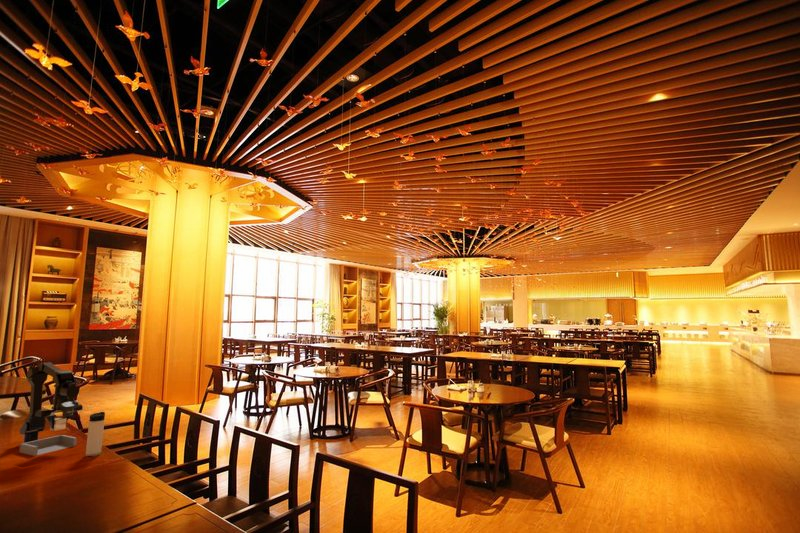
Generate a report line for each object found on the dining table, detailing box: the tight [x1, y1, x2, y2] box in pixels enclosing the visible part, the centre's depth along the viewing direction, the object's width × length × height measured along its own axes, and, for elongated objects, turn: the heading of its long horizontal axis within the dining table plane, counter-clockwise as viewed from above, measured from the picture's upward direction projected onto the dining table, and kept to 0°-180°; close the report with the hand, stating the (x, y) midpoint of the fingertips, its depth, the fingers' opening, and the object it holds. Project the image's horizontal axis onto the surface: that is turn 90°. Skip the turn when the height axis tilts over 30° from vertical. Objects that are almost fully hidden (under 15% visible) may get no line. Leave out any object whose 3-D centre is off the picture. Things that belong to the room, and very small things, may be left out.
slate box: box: [19, 434, 77, 457], centre depth 212 cm, size 13×18×4 cm
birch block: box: [49, 417, 67, 431], centre depth 211 cm, size 4×4×5 cm
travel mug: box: [85, 411, 106, 457], centre depth 207 cm, size 6×7×20 cm
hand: (58, 427), depth 211 cm, fingers closed on birch block, 4 cm apart
